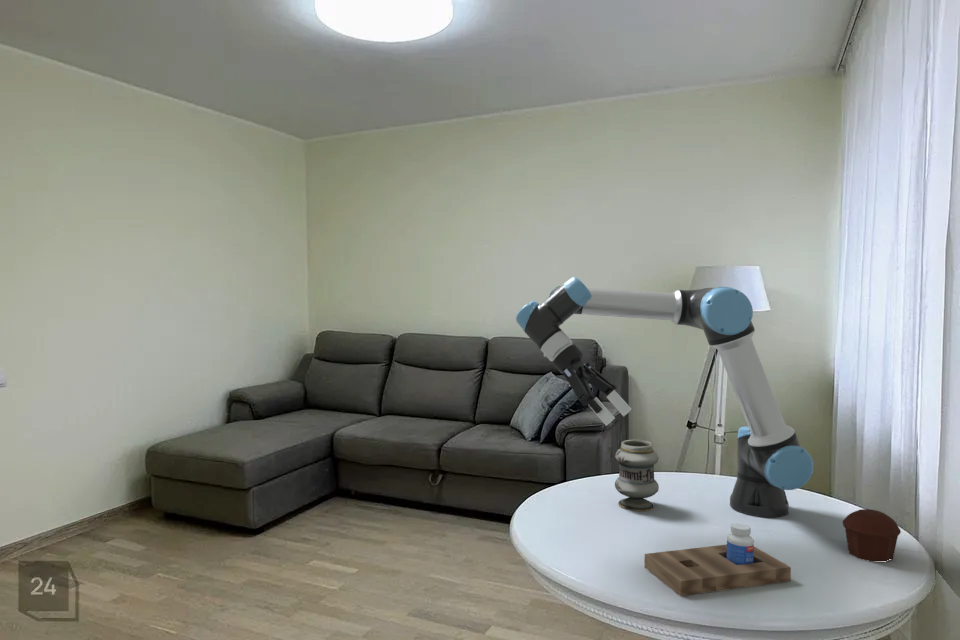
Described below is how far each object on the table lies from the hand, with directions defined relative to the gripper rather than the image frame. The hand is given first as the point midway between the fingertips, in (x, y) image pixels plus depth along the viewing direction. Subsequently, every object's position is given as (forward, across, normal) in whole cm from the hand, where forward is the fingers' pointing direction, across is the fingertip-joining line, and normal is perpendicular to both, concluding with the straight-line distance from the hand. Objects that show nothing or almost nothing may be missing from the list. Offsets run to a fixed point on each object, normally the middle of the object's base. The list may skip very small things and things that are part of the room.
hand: (619, 417), depth 158 cm
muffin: (+59, -19, +17) cm, 64 cm away
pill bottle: (+41, +6, -1) cm, 42 cm away
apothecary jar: (+19, -26, -23) cm, 40 cm away
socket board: (+38, +10, -4) cm, 40 cm away
